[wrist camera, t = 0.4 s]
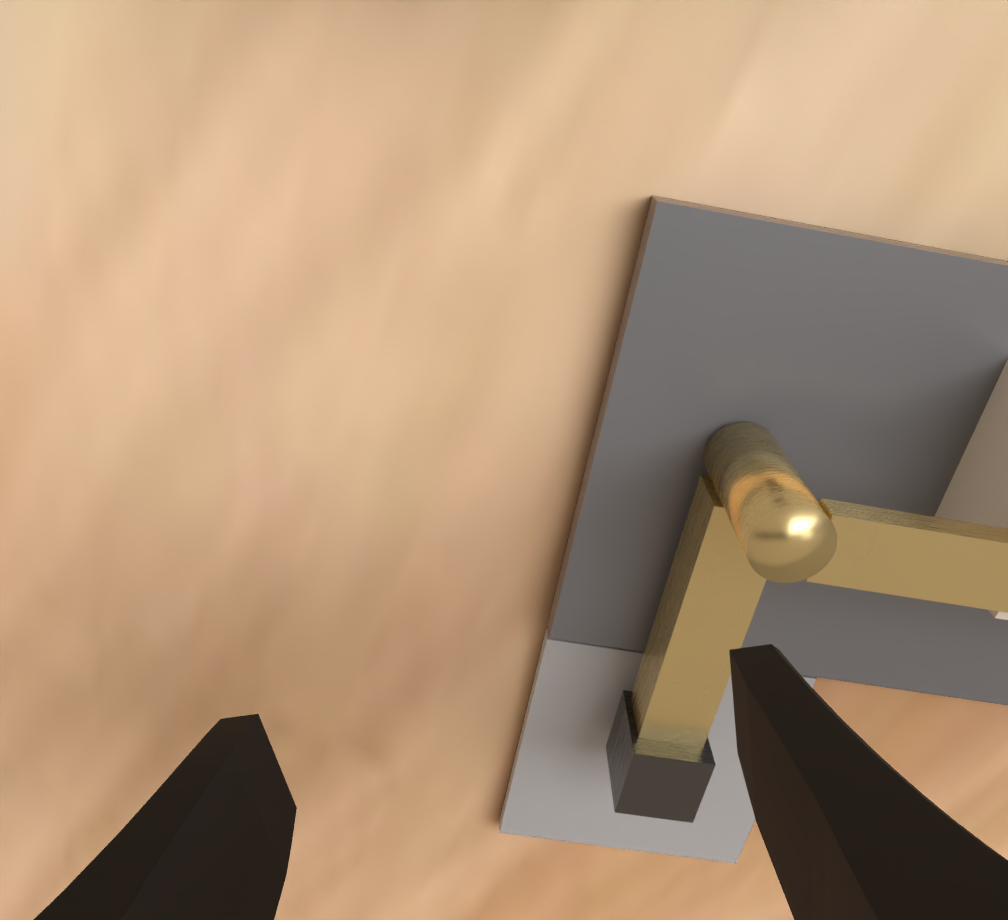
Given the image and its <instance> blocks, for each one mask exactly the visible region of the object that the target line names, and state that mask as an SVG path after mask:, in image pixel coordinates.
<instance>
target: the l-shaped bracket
mask: <svg viewBox="0 0 1008 920" xmlns="http://www.w3.org/2000/svg"><path fill="white" fill-rule="evenodd" d="M704 464H705V468H706V470H707V472H708V475H709V476H707V475H701V474H700V477H699V480H698V483H697V486H696V489H695V493H694V496H693V499H692V502H691V505H690V509H689V512H688V515H687V518H686V521H685V525H684V528H683V531H682V534H681V537H680V541H679V544H678V547H677V550H676V553H675V556H674V560H673V563H672V566H671V569H670V572H669V576H668V579H667V582H666V585H665V588H664V592H663V595H662V598H661V601H660V604H659V607H658V611H657V614H656V617H655V620H654V623H653V627H652V630H651V633H650V636H649V639H648V643H647V646H646V649H645V652H644V655H643V658H642V662H641V665H640V668H639V671H638V674H637V678H636V681H635V684H634V687H633V690H632V691H626V690H623V692H622V695H621V698H620V702H619V705H618V708H617V712H616V715H615V718H614V721H613V725H612V728H611V731H610V734H609V738H608V741H607V744H606V752H607V759H608V767H609V774H610V782H611V789H612V797H613V804H614V812H615V813H622V814H630V815H637V816H644V817H652V818H659V819H667V820H674V821H682V822H689V823H693V822H694V819H695V816H696V814H697V811H698V809H699V806H700V804H701V801H702V799H703V796H704V793H705V791H706V788H707V786H708V783H709V781H710V778H711V775H712V773H713V770H714V768H715V765H716V764H715V761H714V757H713V754H712V750H711V747H710V743H709V740H708V734H709V731H710V728H711V726H712V723H713V720H714V718H715V715H716V712H717V710H718V707H719V704H720V702H721V699H722V696H723V694H724V691H725V689H726V686H727V683H728V681H729V678H730V675H731V666H730V653H729V650H731V649H738V648H741V646H742V643H743V641H744V638H745V635H746V633H747V630H748V628H749V625H750V622H751V620H752V617H753V614H754V612H755V609H756V606H757V604H758V601H759V598H760V596H761V593H762V590H763V588H764V585H765V582H766V580H770V581H773V582H777V583H794V582H799V581H802V580H806V581H807V582H813V583H819V584H826V585H832V586H839V587H845V588H851V589H858V590H864V591H871V592H877V593H884V594H890V595H897V596H903V597H909V598H916V599H922V600H929V601H935V602H942V603H948V604H955V605H961V606H968V607H974V608H980V609H987V610H993V611H1000V612H1006V613H1008V528H1002V527H995V526H989V525H983V524H977V523H971V522H965V521H958V520H952V519H946V518H940V517H934V516H928V515H921V514H915V513H909V512H903V511H897V510H891V509H884V508H878V507H872V506H866V505H860V504H854V503H847V502H841V501H835V500H829V499H823V498H821V501H820V504H819V502H818V501H817V499H816V498H815V496H814V495H813V494H812V492H811V491H810V489H809V488H808V486H807V485H806V483H805V482H804V480H803V479H802V477H801V476H800V474H799V473H798V471H797V470H796V468H795V467H794V466H793V464H792V463H791V461H790V460H789V458H788V457H787V455H786V454H785V452H784V451H783V449H782V448H781V446H780V445H779V443H778V442H777V440H776V439H775V438H774V436H773V435H772V433H771V432H770V431H769V430H768V429H766V428H765V427H764V426H762V425H760V424H757V423H753V422H737V423H733V424H730V425H727V426H726V427H724V428H722V429H720V430H719V431H718V432H717V433H715V434H714V436H713V437H712V438H711V439H710V441H709V442H708V444H707V446H706V449H705V453H704Z"/></svg>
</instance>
